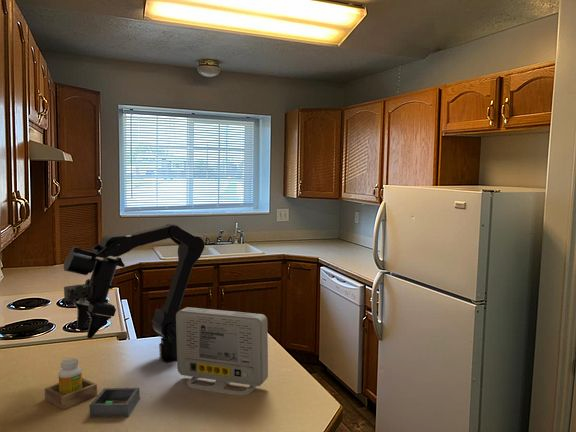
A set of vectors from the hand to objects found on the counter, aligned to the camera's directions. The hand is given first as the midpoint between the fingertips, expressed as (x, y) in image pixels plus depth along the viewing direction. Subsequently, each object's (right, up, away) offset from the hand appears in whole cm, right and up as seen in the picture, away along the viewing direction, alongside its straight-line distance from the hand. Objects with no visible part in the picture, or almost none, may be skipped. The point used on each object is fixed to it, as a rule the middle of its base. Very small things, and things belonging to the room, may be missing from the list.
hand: (83, 333), depth 129 cm
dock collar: (+14, -14, -15) cm, 25 cm away
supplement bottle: (+1, -14, -9) cm, 17 cm away
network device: (+38, -14, -2) cm, 41 cm away
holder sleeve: (+1, -14, -9) cm, 17 cm away
